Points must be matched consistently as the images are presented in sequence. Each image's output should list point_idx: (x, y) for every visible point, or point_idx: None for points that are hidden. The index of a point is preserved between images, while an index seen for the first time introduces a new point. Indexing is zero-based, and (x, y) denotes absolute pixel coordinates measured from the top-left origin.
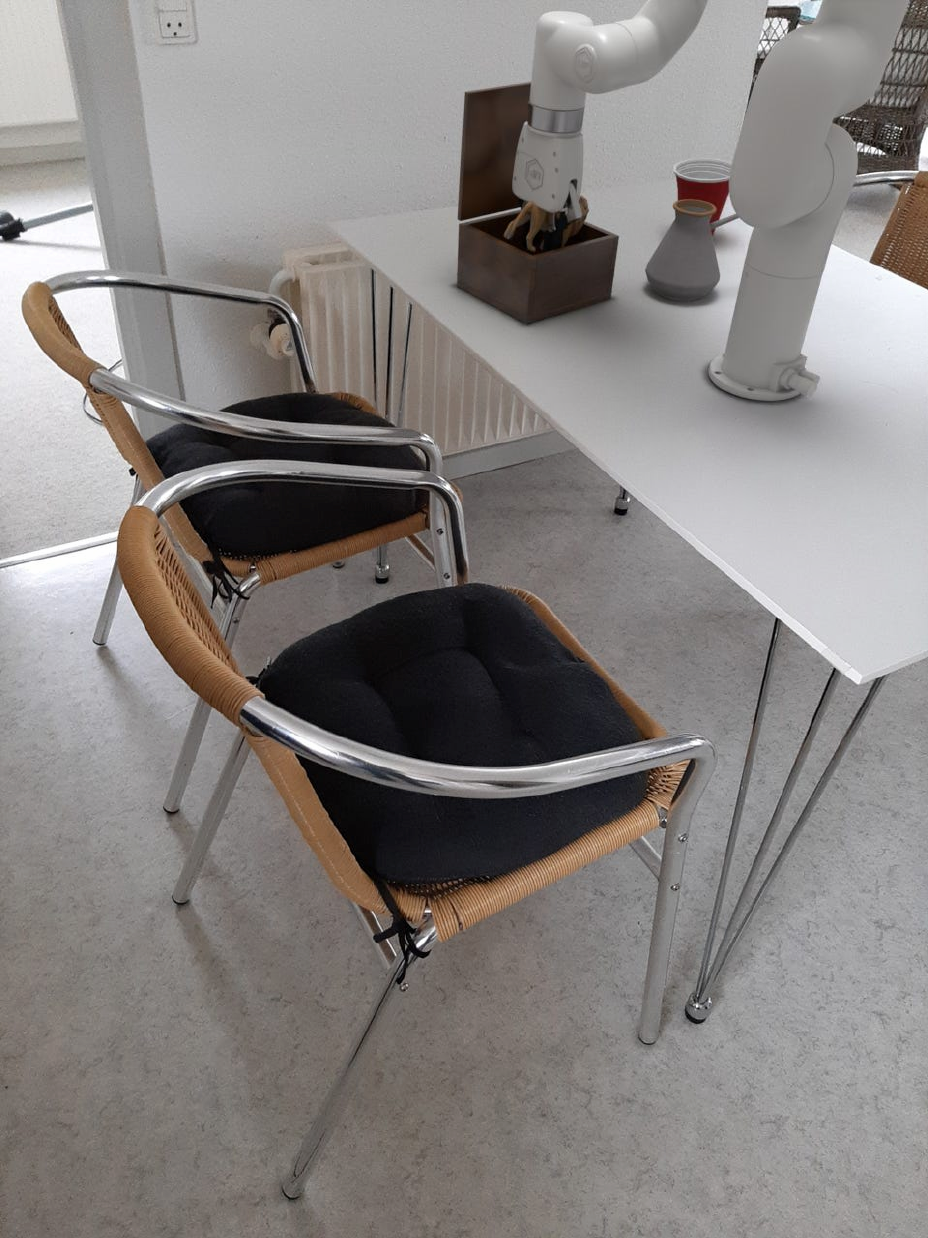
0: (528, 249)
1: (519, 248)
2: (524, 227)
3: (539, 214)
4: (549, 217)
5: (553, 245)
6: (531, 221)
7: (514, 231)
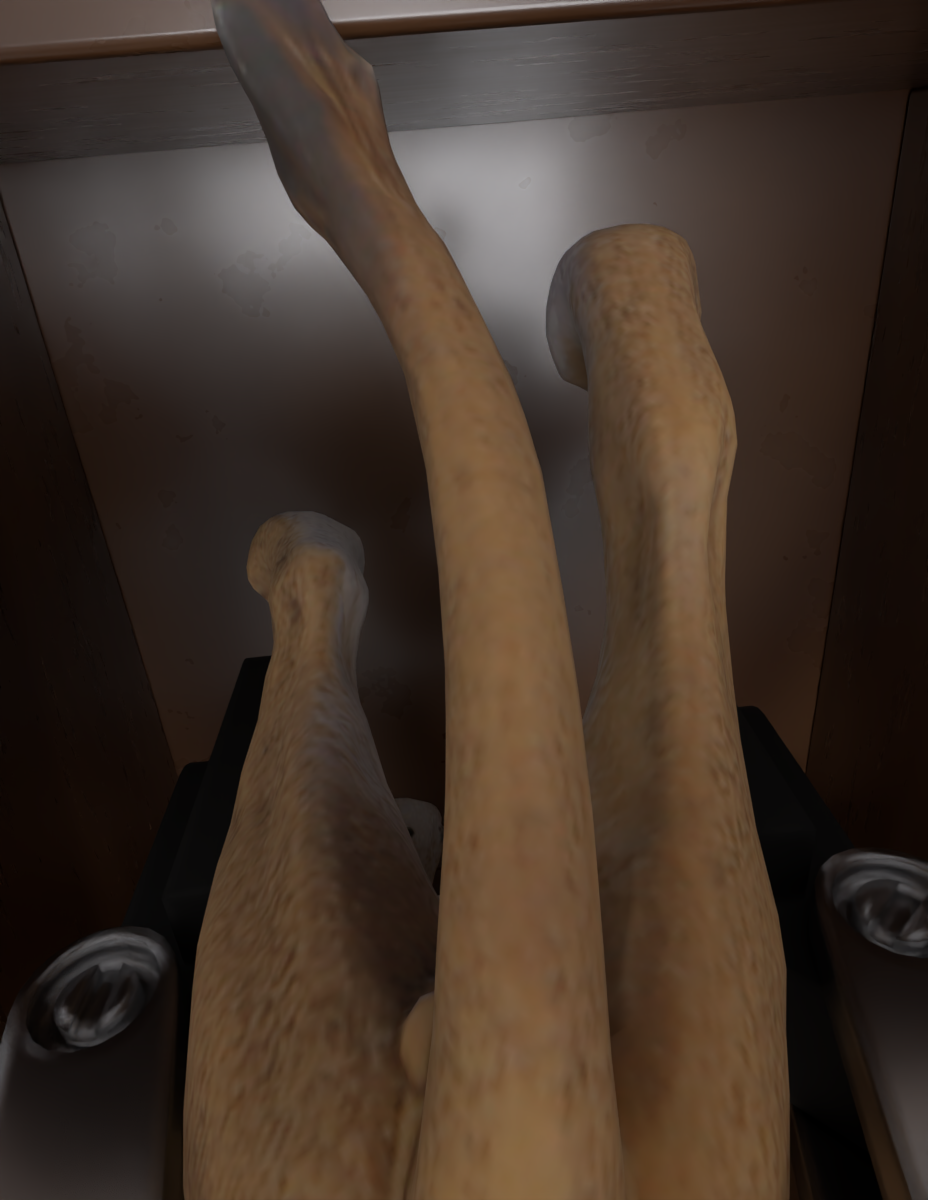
0: (867, 783)
1: (897, 723)
2: None
3: (185, 1100)
4: (114, 1174)
5: (162, 819)
6: (300, 812)
7: (377, 314)
